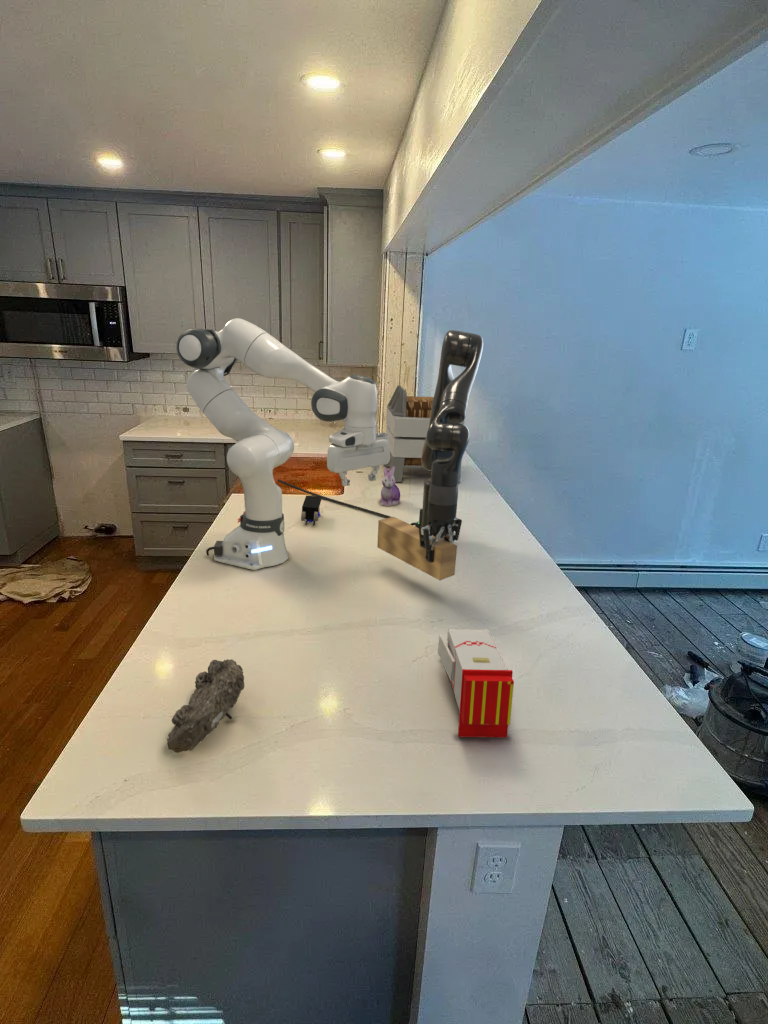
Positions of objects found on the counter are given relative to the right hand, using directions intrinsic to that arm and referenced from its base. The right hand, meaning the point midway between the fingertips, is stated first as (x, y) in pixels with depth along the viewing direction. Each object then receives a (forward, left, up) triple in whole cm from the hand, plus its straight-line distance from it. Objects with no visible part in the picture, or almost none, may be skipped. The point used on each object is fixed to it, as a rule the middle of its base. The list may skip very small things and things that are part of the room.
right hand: (438, 558), depth 153 cm
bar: (-9, +2, -4) cm, 10 cm away
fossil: (-9, -69, -12) cm, 70 cm away
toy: (+27, -31, -12) cm, 42 cm away
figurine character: (-65, +22, -12) cm, 70 cm away
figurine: (-55, +58, -12) cm, 81 cm away
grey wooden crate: (-70, +104, -12) cm, 126 cm away
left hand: (-28, 0, +15) cm, 32 cm away
